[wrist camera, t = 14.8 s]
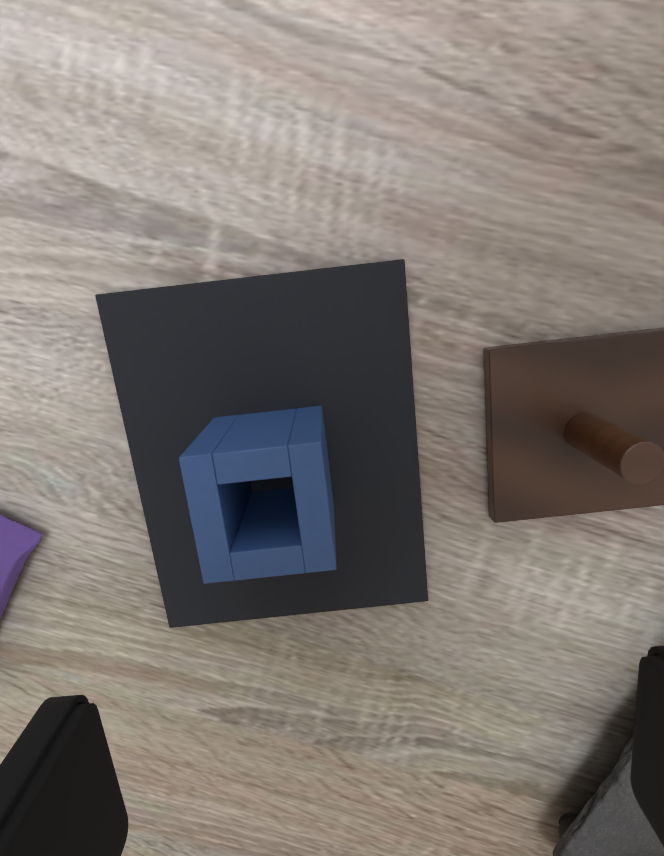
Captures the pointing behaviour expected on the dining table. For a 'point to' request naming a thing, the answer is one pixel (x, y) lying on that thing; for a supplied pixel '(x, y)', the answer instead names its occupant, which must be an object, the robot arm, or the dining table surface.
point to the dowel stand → (575, 425)
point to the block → (261, 495)
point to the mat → (271, 391)
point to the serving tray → (610, 820)
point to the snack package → (13, 555)
